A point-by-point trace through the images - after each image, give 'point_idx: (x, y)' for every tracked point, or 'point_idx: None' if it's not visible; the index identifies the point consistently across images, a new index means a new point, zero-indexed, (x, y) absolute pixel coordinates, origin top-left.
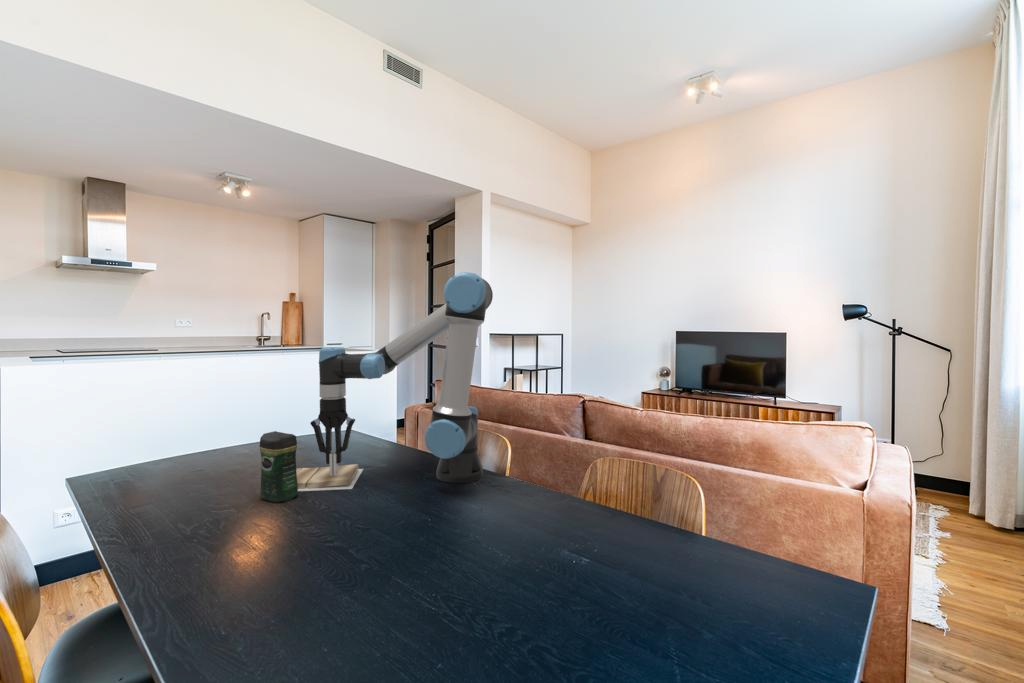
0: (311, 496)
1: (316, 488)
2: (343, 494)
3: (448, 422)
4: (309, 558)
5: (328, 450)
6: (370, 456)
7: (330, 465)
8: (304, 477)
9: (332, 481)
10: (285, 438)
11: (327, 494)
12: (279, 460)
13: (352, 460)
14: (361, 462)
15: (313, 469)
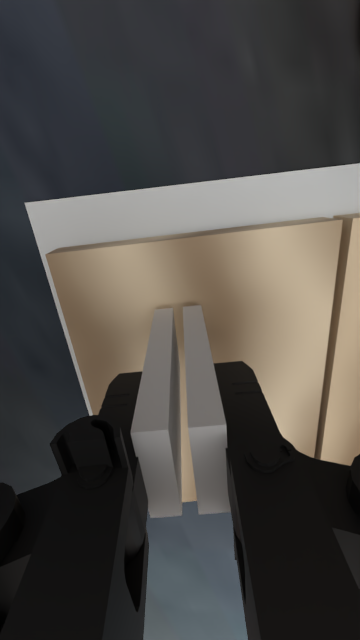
0: (257, 55)
1: (260, 214)
2: (40, 101)
3: None
4: None
5: (255, 481)
6: (151, 605)
7: (200, 341)
8: None
9: (161, 239)
10: None
11: (154, 104)
12: None
13: (204, 576)
14: (160, 560)
15: (342, 461)
